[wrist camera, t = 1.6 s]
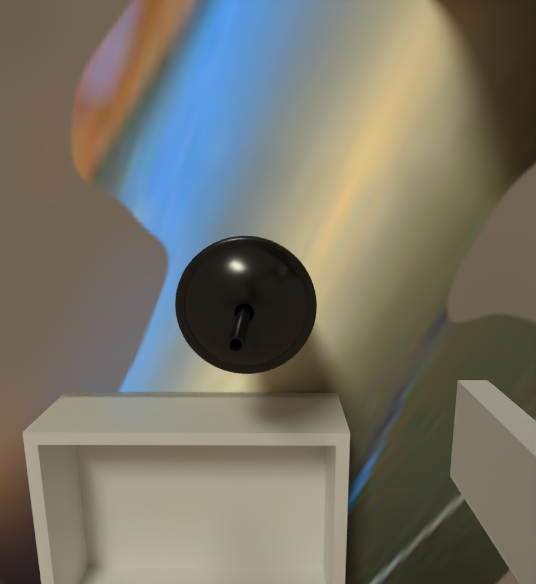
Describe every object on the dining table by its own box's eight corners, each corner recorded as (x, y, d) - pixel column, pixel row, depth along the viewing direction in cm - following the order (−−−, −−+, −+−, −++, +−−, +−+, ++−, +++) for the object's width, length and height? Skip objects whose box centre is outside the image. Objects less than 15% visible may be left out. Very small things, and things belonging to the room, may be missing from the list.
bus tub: (337, 392, 40) (350, 433, 33) (332, 568, 44) (343, 637, 37) (65, 392, 40) (22, 432, 34) (83, 567, 44) (47, 635, 37)
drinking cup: (281, 326, 39) (289, 456, 19) (197, 294, 39) (117, 394, 19) (316, 242, 37) (361, 292, 18) (228, 208, 37) (176, 220, 17)
